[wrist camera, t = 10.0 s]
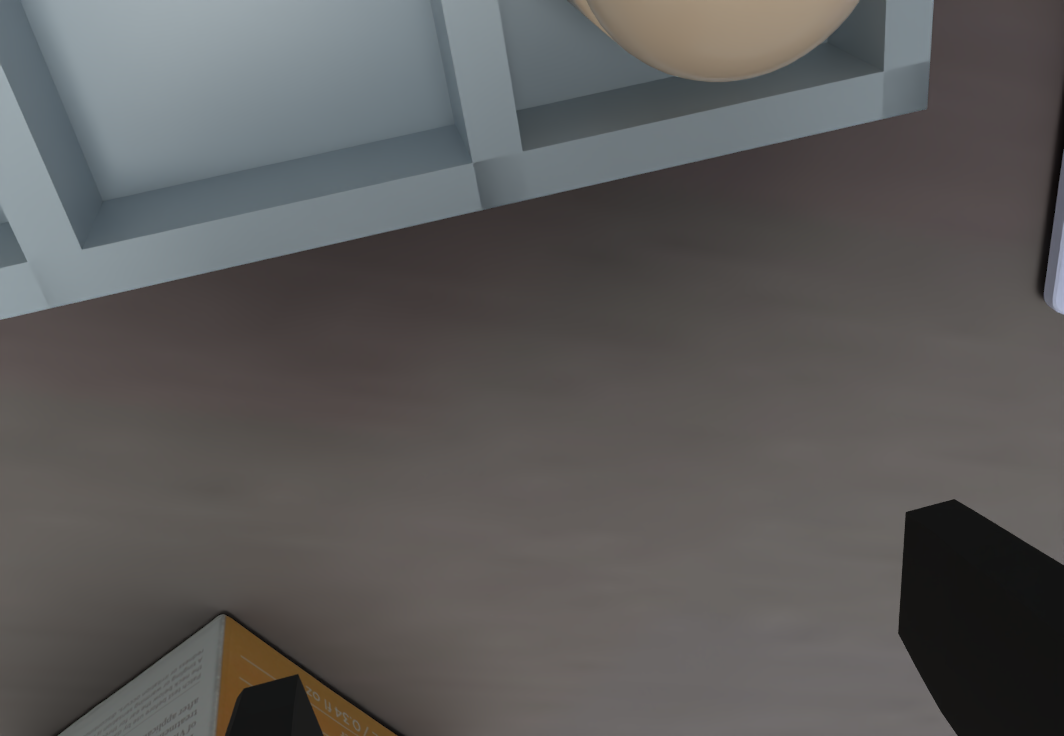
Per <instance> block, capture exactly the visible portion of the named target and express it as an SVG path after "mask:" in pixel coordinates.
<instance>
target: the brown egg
mask: <svg viewBox="0 0 1064 736" xmlns="http://www.w3.org/2000/svg"><path fill="white" fill-rule="evenodd" d="M567 1H568V2H569V3H570V4H572V5H573V6H574V7H575V8H576V9H577V10H579V11H580V12H581V13H582V14H583V15H584V16H586V17H587V18H588V19H589V20H590V21H591V22H593V23H594V24H595V25H596V26H597V27H598V28H600V29H601V30H602V31H603V32H604V33H605V34H607V35H608V36H609V37H610V38H611V39H612V40H614V41H615V42H616V43H617V44H618V45H620V46H621V47H622V48H623V49H624V50H625V51H627V52H628V53H629V54H631V55H632V56H634V57H635V58H637V59H639V60H640V61H642V62H643V63H645V64H647V65H648V66H650V67H653V68H655V69H657V70H659V71H661V72H664V73H666V74H669V75H673V76H676V77H680V78H683V79H689V80H696V81H704V82H731V81H737V80H744V79H749V78H754V77H757V76H761V75H764V74H768V73H771V72H773V71H776V70H778V69H780V68H783V67H785V66H787V65H789V64H791V63H792V62H794V61H796V60H798V59H799V58H801V57H803V56H804V55H806V54H807V53H809V52H810V51H811V50H813V49H814V48H816V47H817V46H818V45H820V44H821V43H822V42H824V41H825V40H826V39H827V38H828V37H829V36H830V35H831V34H832V33H833V32H834V31H835V30H837V29H838V28H839V26H840V25H841V24H842V23H843V22H844V21H845V20H846V18H847V17H848V16H849V15H850V14H851V12H852V11H853V10H854V8H855V7H856V5H857V4H858V3H859V1H860V0H567Z"/></svg>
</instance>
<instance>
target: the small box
mask: <svg viewBox="0 0 1064 736" xmlns="http://www.w3.org/2000/svg"><path fill="white" fill-rule="evenodd" d="M296 674H299V677H300V679H301V682H302V684H303V686H304V689H305V691H306V694H307V696H308V699H309V701H310V703H311V706H312V708H313V711H314V713H315V716H316V718H317V720H318V723H319V725H320V728H321V730H322V732H323V735H324V736H397V735H396V734H394V733H393V732H391V731H390V730H388V729H387V728H385V727H384V726H382V725H381V724H380V723H378V722H377V721H375V720H374V719H372V718H371V717H370V716H368V715H367V714H365V713H364V712H362V711H361V710H359V709H358V708H356V707H355V706H354V705H352V704H351V703H349V702H348V701H346V700H345V699H343V698H342V697H340V696H339V695H338V694H336V693H335V692H333V691H332V690H330V689H329V688H327V687H326V686H325V685H323V684H322V683H320V682H319V681H318V680H316V679H315V678H314V677H312V676H311V675H310V674H308V673H307V672H305V671H304V670H302V669H301V668H300V667H298V666H297V665H295V664H294V663H293V662H291V661H290V660H288V659H287V658H286V657H284V656H283V655H281V654H280V653H279V652H277V651H276V650H274V649H273V648H272V647H270V646H269V645H267V644H266V643H265V642H263V641H262V640H260V639H259V638H258V637H256V636H255V635H254V634H252V633H251V632H249V631H248V630H247V629H245V628H244V627H243V626H241V625H240V624H239V623H237V622H236V621H235V620H233V619H232V618H230V617H229V616H227V615H224V614H222V615H219V616H217V617H216V618H215V619H214V620H212V621H211V622H210V623H209V624H207V625H206V626H205V627H203V628H202V629H201V630H199V631H198V632H196V633H195V634H194V635H192V636H191V637H190V638H189V639H187V640H186V641H185V642H183V643H182V644H181V645H179V646H178V647H177V648H175V649H174V650H172V651H171V652H170V653H168V654H167V655H165V656H164V657H163V658H161V659H160V660H159V661H157V662H156V663H155V664H154V665H152V666H151V667H150V668H148V669H147V670H146V671H144V672H143V673H142V674H140V675H139V676H137V677H136V678H135V679H133V680H132V681H131V682H129V683H128V684H127V685H125V686H124V687H122V688H121V689H120V690H118V691H117V692H116V693H114V694H113V695H111V696H110V697H109V698H107V699H106V700H104V701H103V702H102V703H100V704H99V705H97V706H96V707H95V708H93V709H92V710H91V711H89V712H88V713H87V714H85V715H84V716H83V717H81V718H80V719H79V720H77V721H76V722H75V723H73V724H72V725H71V726H69V727H68V728H67V729H65V730H64V731H63V732H62V733H60V734H59V735H58V736H225V733H226V730H227V727H228V724H229V721H230V718H231V715H232V712H233V709H234V705H235V702H236V699H237V697H238V696H239V694H240V693H241V692H242V690H243V689H244V688H247V687H251V686H255V685H258V684H262V683H266V682H270V681H273V680H277V679H281V678H285V677H288V676H292V675H296Z"/></svg>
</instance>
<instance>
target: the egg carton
mask: <svg viewBox="0 0 1064 736" xmlns="http://www.w3.org/2000/svg"><path fill="white" fill-rule="evenodd" d="M933 4H934V0H860V1H859V3H858V4H857V5H856V7H855V8H854V10H853V11H852V12H851V14H850V15H849V16H848V17H847V18H846V20H845V21H844V22H843V23H842V24H841V25H840V26H839V28H838V29H837V30H835V31H834V32H833V33H832V34H831V35H830V36H829V37H828V38H827V39H826V40H825V41H824V42H822V43H821V44H820V45H818V46H817V47H816V48H814V49H813V50H811V51H810V52H809V53H807V54H806V55H804V56H803V57H801V58H799V59H798V60H796V61H794V62H792V63H791V64H789V65H787V66H785V67H783V68H780V69H778V70H776V71H773V72H771V73H768V74H764V75H761V76H757V77H754V78H749V79H744V80H737V81H731V82H704V81H696V80H689V79H683V78H680V77H676V76H673V75H669V74H666V73H664V72H661V71H659V70H657V69H655V68H653V67H650V66H648V65H647V64H645V63H643V62H642V61H640V60H639V59H637V58H635V57H634V56H632V55H631V54H629V53H628V52H627V51H625V50H624V49H623V48H622V47H621V46H620V45H618V44H617V43H616V42H615V41H614V40H612V39H611V38H610V37H609V36H608V35H607V34H605V33H604V32H603V31H602V30H601V29H600V28H598V27H597V26H596V25H595V24H594V23H593V22H591V21H590V20H589V19H588V18H587V17H586V16H584V15H583V14H582V13H581V12H580V11H579V10H577V9H576V8H575V7H574V6H573V5H572V4H570V3H569V2H568V1H567V0H0V320H1V319H6V318H10V317H14V316H19V315H23V314H28V313H32V312H36V311H41V310H45V309H50V308H54V307H58V306H63V305H67V304H71V303H76V302H80V301H85V300H89V299H93V298H98V297H102V296H107V295H111V294H115V293H120V292H124V291H129V290H133V289H137V288H142V287H146V286H151V285H155V284H159V283H164V282H168V281H173V280H177V279H181V278H186V277H190V276H195V275H199V274H203V273H208V272H212V271H217V270H221V269H225V268H230V267H234V266H239V265H243V264H247V263H252V262H256V261H261V260H265V259H269V258H274V257H278V256H283V255H287V254H291V253H296V252H300V251H305V250H309V249H313V248H318V247H322V246H327V245H331V244H335V243H340V242H344V241H349V240H353V239H357V238H362V237H366V236H371V235H375V234H379V233H384V232H388V231H392V230H397V229H401V228H406V227H410V226H414V225H419V224H423V223H428V222H432V221H436V220H441V219H445V218H450V217H454V216H458V215H463V214H467V213H472V212H476V211H480V210H485V209H489V208H494V207H498V206H502V205H507V204H511V203H516V202H520V201H524V200H529V199H533V198H538V197H542V196H546V195H551V194H555V193H560V192H564V191H568V190H573V189H577V188H582V187H586V186H590V185H595V184H599V183H604V182H608V181H612V180H617V179H621V178H626V177H630V176H634V175H639V174H643V173H648V172H652V171H656V170H661V169H665V168H670V167H674V166H678V165H683V164H687V163H691V162H696V161H700V160H705V159H709V158H713V157H718V156H722V155H727V154H731V153H735V152H740V151H744V150H749V149H753V148H757V147H762V146H766V145H771V144H775V143H779V142H784V141H788V140H793V139H797V138H801V137H806V136H810V135H815V134H819V133H823V132H828V131H832V130H837V129H841V128H845V127H850V126H854V125H859V124H863V123H867V122H872V121H876V120H881V119H885V118H889V117H894V116H898V115H903V114H907V113H911V112H916V111H920V110H925V109H927V103H928V87H929V70H930V54H931V37H932V20H933Z"/></svg>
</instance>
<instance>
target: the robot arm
mask: <svg viewBox="0 0 1064 736" xmlns="http://www.w3.org/2000/svg"><path fill="white" fill-rule="evenodd" d="M1044 300H1045V302H1046V303H1047V305H1048V306H1050V307H1051V308H1052V309H1054V310H1055V311H1057V312H1059V313H1061V314H1064V151H1063V158H1062V165H1061V172H1060V180H1059V187H1058V194H1057V201H1056V209H1055V216H1054V223H1053V230H1052V237H1051V245H1050V252H1049V259H1048V266H1047V274H1046V281H1045V288H1044ZM898 634H899V636H900V637H901V639H902V641H903V643H904V645H905V647H906V649H907V651H908V653H909V655H910V656H911V658H912V660H913V662H914V664H915V666H916V668H917V670H918V672H919V673H920V675H921V677H922V679H923V681H924V682H925V684H926V686H927V688H928V690H929V691H930V693H931V695H932V697H933V698H934V700H935V702H936V704H937V706H938V707H939V709H940V711H941V712H942V714H943V715H944V717H945V718H946V720H947V721H948V722H949V724H950V725H951V727H952V728H953V730H954V731H955V733H956V734H957V735H958V736H1064V565H1062V564H1061V563H1059V562H1057V561H1056V560H1054V559H1052V558H1051V557H1049V556H1047V555H1046V554H1044V553H1042V552H1041V551H1039V550H1038V549H1036V548H1034V547H1033V546H1031V545H1029V544H1028V543H1026V542H1024V541H1023V540H1021V539H1019V538H1018V537H1016V536H1015V535H1013V534H1011V533H1010V532H1008V531H1006V530H1005V529H1003V528H1002V527H1000V526H998V525H997V524H995V523H993V522H992V521H990V520H988V519H987V518H985V517H983V516H982V515H980V514H979V513H977V512H975V511H974V510H972V509H970V508H968V507H967V506H965V505H963V504H962V503H960V502H958V501H957V500H955V499H953V500H950V501H946V502H942V503H938V504H935V505H931V506H927V507H923V508H919V509H916V510H912V511H908V512H906V518H905V534H904V550H903V566H902V582H901V598H900V614H899V630H898ZM225 736H324V735H323V732H322V730H321V728H320V725H319V723H318V720H317V718H316V716H315V713H314V711H313V708H312V706H311V703H310V701H309V699H308V696H307V694H306V691H305V689H304V686H303V684H302V682H301V679H300V677H299V674H296V675H292V676H288V677H285V678H281V679H277V680H273V681H270V682H266V683H262V684H258V685H255V686H251V687H247V688H244V689H243V690H242V692H241V693H240V694H239V696H238V697H237V699H236V702H235V705H234V709H233V712H232V715H231V718H230V721H229V724H228V727H227V730H226V733H225Z"/></svg>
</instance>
